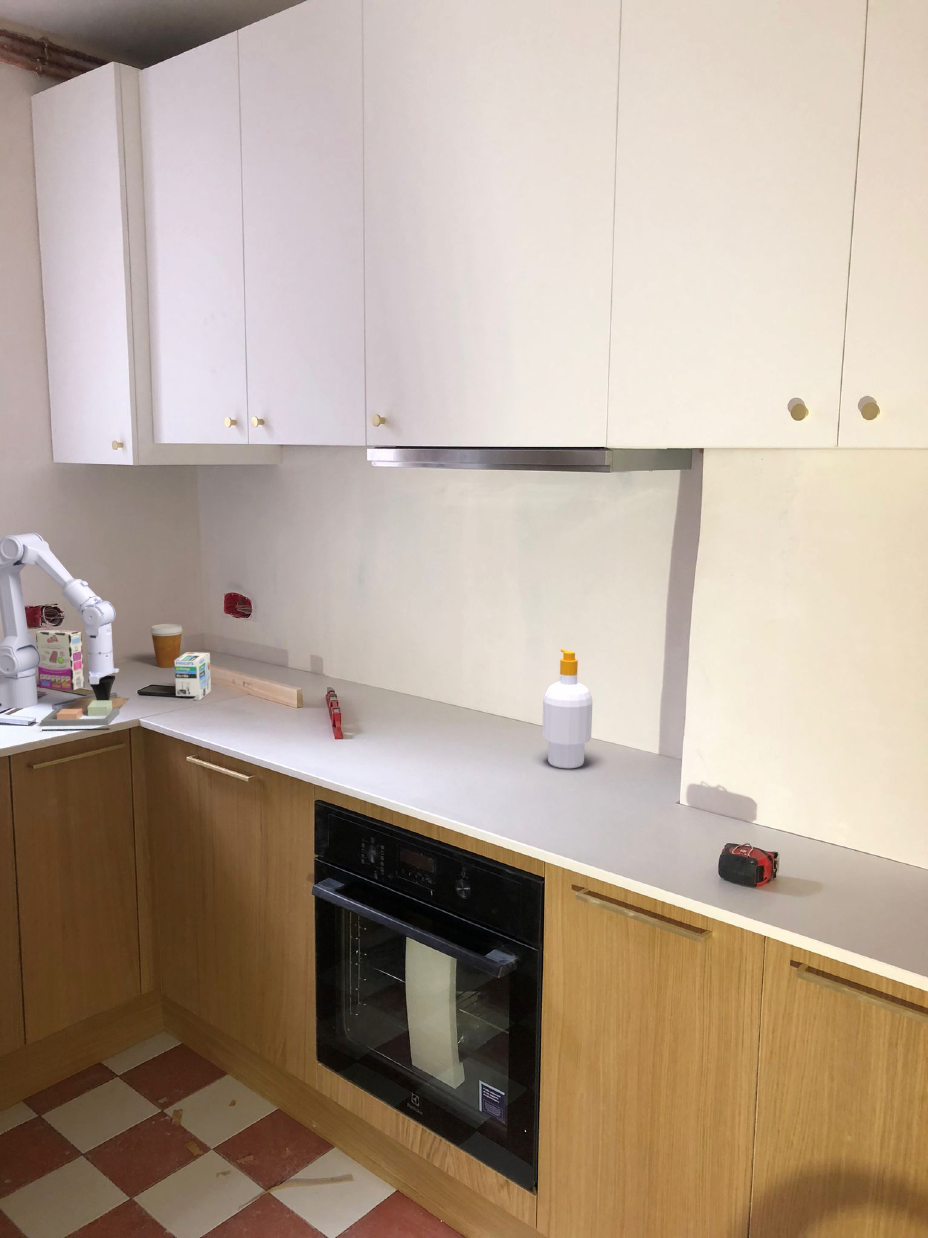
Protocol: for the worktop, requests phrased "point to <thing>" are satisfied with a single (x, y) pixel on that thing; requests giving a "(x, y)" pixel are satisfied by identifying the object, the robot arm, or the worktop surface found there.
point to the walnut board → (86, 702)
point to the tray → (77, 721)
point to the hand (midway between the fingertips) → (103, 706)
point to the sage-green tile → (100, 708)
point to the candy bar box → (60, 659)
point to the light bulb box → (193, 675)
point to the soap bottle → (567, 716)
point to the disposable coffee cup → (166, 643)
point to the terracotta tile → (69, 714)
